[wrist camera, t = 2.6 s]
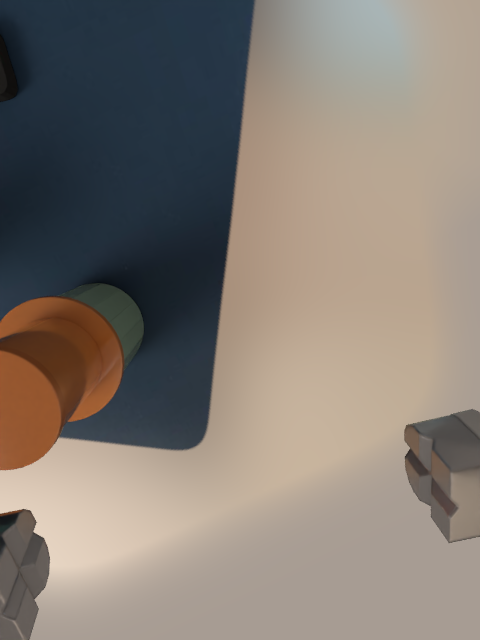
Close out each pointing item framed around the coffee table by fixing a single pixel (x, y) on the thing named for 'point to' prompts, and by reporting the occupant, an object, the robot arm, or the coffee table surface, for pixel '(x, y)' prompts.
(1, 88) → the remote control
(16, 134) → the coffee table surface
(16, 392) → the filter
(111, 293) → the cup
